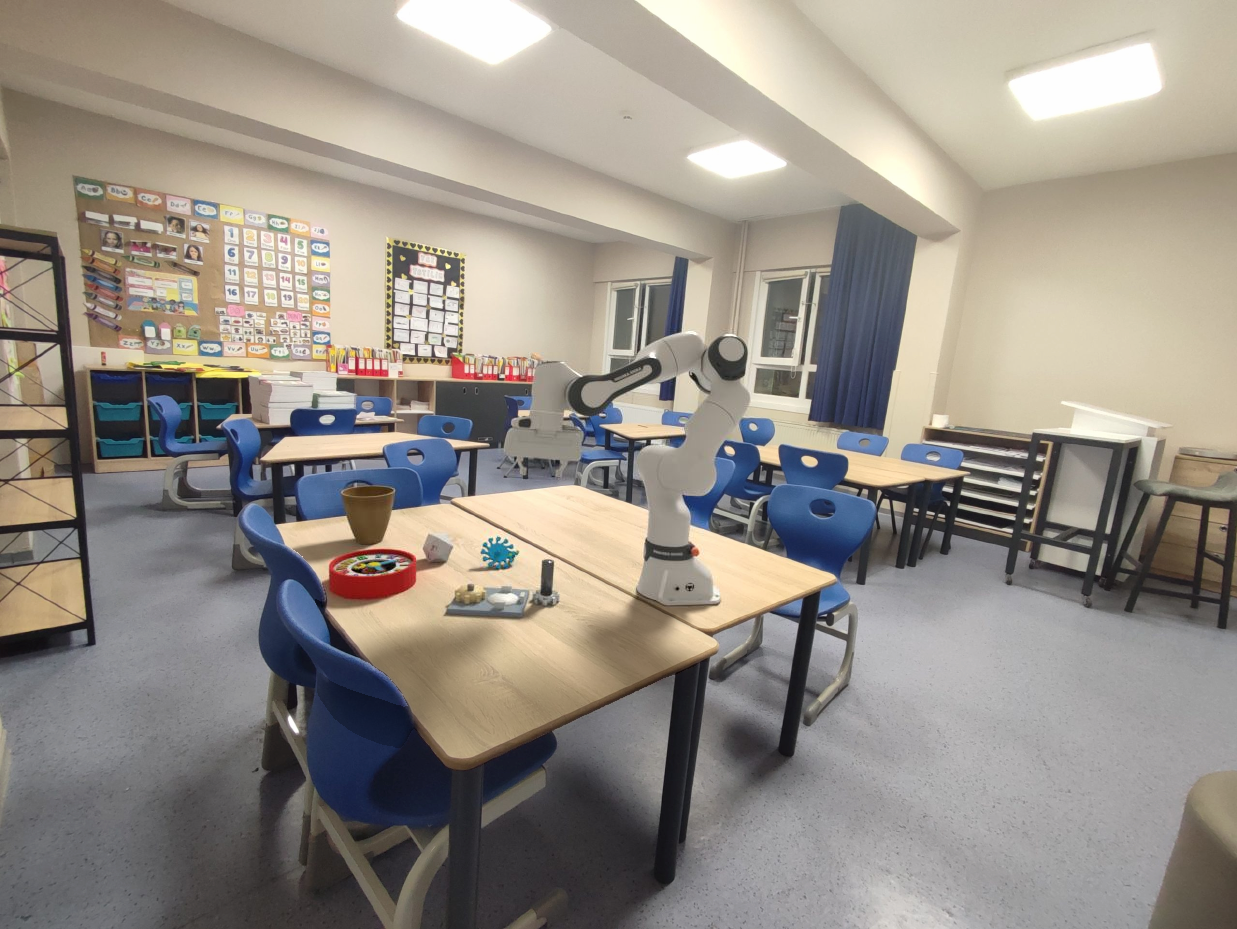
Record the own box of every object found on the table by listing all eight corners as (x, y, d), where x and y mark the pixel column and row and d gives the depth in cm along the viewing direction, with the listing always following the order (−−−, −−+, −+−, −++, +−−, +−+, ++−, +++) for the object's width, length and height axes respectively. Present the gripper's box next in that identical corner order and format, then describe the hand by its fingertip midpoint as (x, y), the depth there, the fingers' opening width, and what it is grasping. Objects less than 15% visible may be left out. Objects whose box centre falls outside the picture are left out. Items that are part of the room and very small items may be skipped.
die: (415, 560, 152) (416, 541, 146) (434, 540, 158) (435, 520, 152) (440, 573, 152) (441, 555, 145) (457, 552, 158) (459, 533, 151)
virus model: (481, 566, 146) (482, 533, 152) (476, 574, 150) (477, 543, 156) (520, 568, 150) (519, 537, 156) (514, 576, 155) (514, 546, 160)
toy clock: (316, 558, 132) (395, 543, 147) (317, 580, 133) (395, 563, 148) (347, 583, 119) (430, 565, 133) (347, 608, 120) (430, 587, 134)
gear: (560, 595, 135) (562, 557, 133) (558, 606, 128) (560, 567, 126) (534, 594, 134) (536, 556, 133) (530, 605, 128) (532, 565, 126)
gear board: (529, 594, 134) (530, 577, 133) (521, 617, 121) (522, 599, 120) (461, 590, 133) (462, 573, 132) (447, 613, 120) (447, 595, 120)
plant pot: (378, 530, 174) (378, 483, 171) (404, 541, 166) (404, 491, 163) (332, 539, 162) (331, 489, 159) (357, 552, 154) (357, 498, 151)
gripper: (581, 426, 144) (576, 476, 145) (505, 419, 137) (500, 471, 138) (587, 427, 138) (582, 479, 139) (508, 419, 131) (503, 474, 132)
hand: (540, 475), depth 139 cm, fingers open, 8 cm apart
